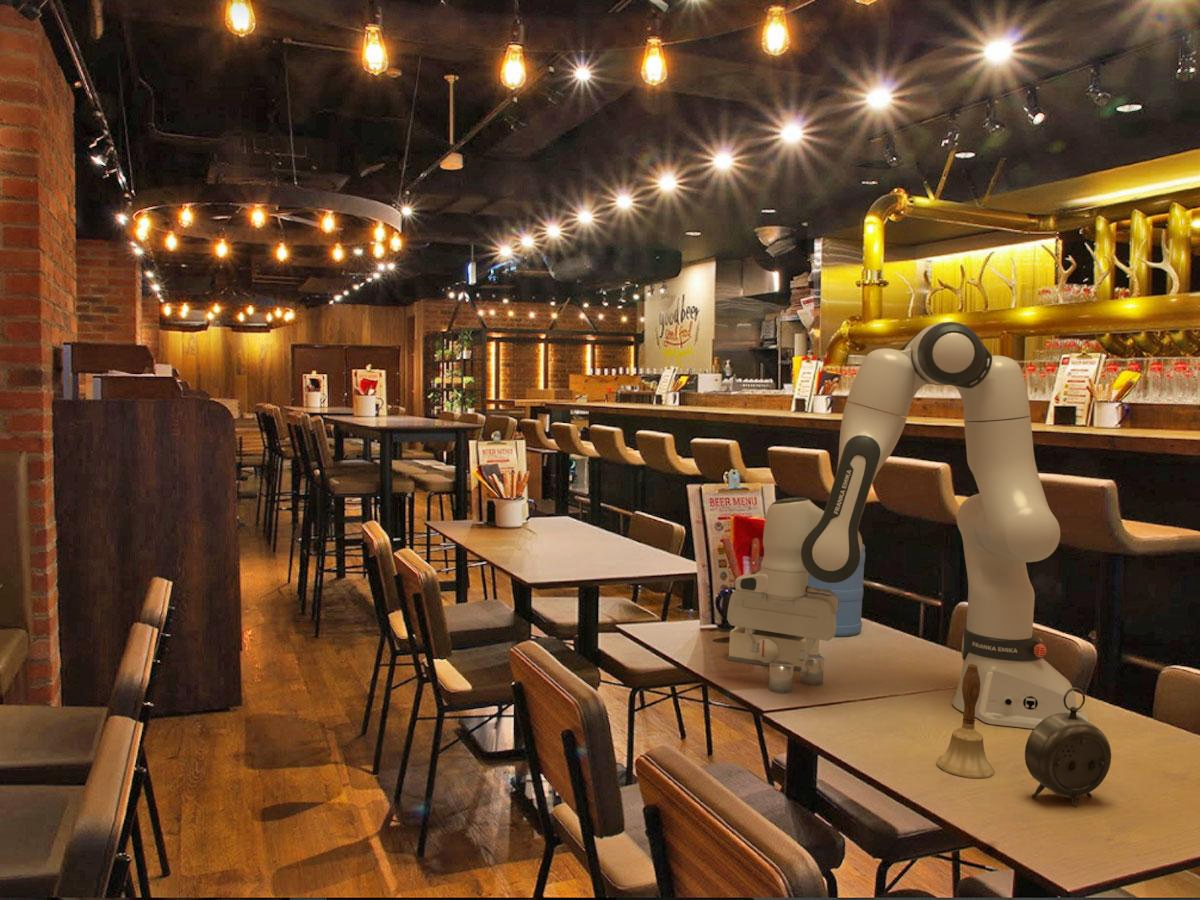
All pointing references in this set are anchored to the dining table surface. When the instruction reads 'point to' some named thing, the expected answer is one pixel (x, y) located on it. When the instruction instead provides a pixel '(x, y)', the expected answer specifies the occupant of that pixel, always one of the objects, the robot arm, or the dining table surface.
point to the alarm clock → (1067, 754)
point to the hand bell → (967, 736)
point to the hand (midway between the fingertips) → (778, 656)
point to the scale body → (768, 647)
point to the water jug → (846, 599)
